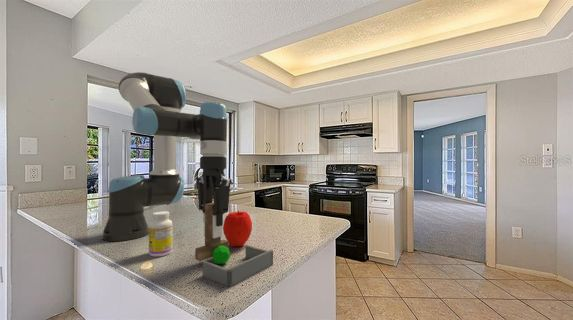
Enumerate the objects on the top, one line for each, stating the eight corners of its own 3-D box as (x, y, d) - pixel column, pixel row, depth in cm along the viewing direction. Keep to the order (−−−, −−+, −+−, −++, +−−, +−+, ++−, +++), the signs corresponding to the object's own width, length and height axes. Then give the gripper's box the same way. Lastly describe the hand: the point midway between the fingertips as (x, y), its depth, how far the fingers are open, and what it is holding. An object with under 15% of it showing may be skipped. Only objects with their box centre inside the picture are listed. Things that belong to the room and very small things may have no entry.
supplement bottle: (150, 251, 81) (150, 211, 81) (172, 248, 83) (173, 210, 84) (147, 258, 75) (147, 215, 75) (171, 255, 77) (172, 213, 77)
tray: (202, 275, 64) (202, 259, 64) (247, 256, 77) (247, 243, 77) (229, 287, 58) (229, 269, 58) (272, 264, 71) (273, 250, 71)
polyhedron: (211, 261, 73) (211, 244, 73) (228, 258, 75) (228, 242, 75) (213, 268, 68) (213, 250, 68) (231, 265, 70) (231, 248, 70)
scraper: (194, 258, 71) (194, 205, 71) (222, 249, 79) (222, 201, 79) (201, 261, 69) (201, 206, 69) (229, 251, 77) (229, 202, 77)
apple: (236, 253, 80) (236, 214, 80) (216, 246, 86) (216, 210, 86) (257, 244, 88) (258, 209, 88) (238, 239, 94) (238, 206, 94)
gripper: (185, 156, 76) (185, 234, 75) (221, 155, 66) (220, 244, 66) (206, 156, 82) (206, 228, 82) (242, 155, 72) (241, 237, 72)
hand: (212, 235), depth 74 cm, fingers closed on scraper, 3 cm apart
